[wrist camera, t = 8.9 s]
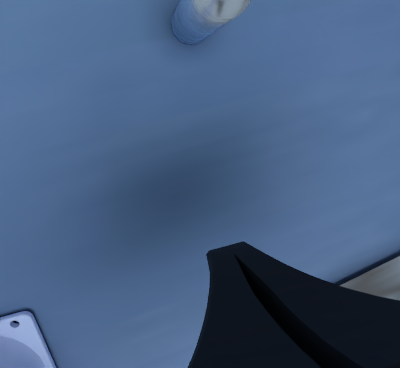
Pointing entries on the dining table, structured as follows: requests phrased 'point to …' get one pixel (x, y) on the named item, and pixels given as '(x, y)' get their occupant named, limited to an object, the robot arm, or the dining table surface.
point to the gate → (379, 280)
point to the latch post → (203, 17)
